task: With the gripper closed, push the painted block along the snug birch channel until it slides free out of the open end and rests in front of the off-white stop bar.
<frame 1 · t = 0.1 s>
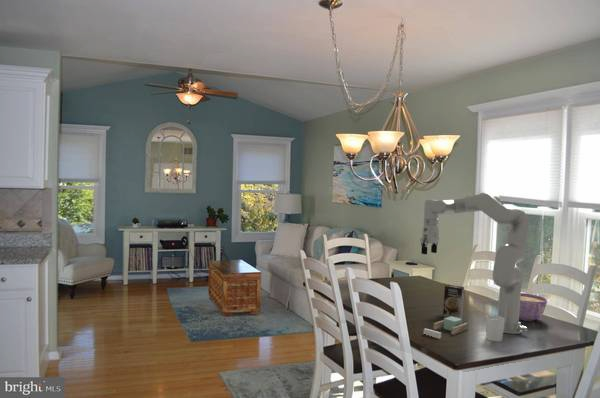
hand: (429, 253, 273), 31 cm above the table, tool pointing down, fingers open, 9 cm apart
block: (452, 329, 241), on the table
coffee box: (452, 317, 263), on the table
white cup: (494, 339, 227), on the table
bowl of food: (525, 319, 265), on the table
stop bar: (432, 336, 228), on the table
channel: (450, 329, 240), on the table
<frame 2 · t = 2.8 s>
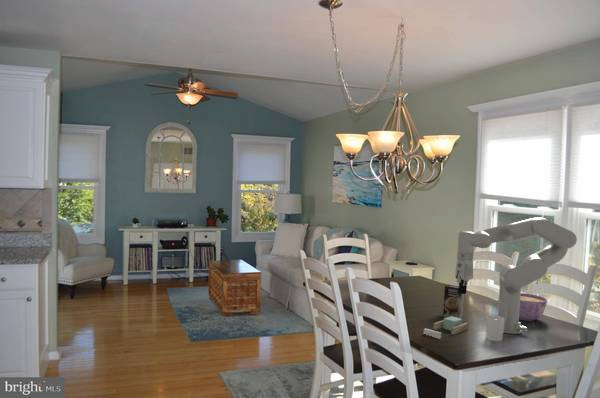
hand: (462, 293, 246), 16 cm above the table, tool pointing down, fingers closed
nothing on the table moved.
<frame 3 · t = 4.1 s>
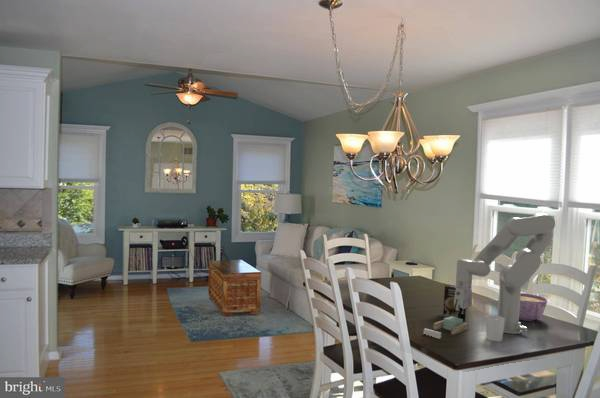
hand: (461, 321, 247), 2 cm above the table, tool pointing down, fingers closed
nothing on the table moved.
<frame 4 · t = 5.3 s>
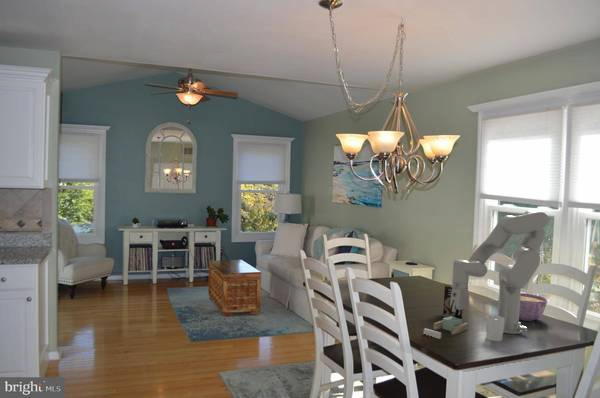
hand: (457, 322, 244), 2 cm above the table, tool pointing down, fingers closed
block: (451, 329, 241), on the table, touching gripper
everything else where it was.
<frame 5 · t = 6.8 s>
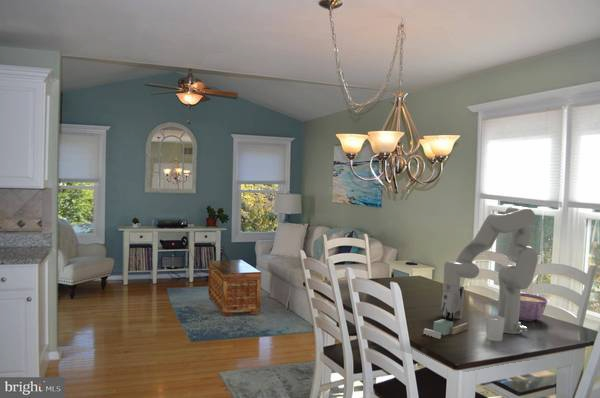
hand: (449, 325, 238), 2 cm above the table, tool pointing down, fingers closed
block: (443, 332, 234), on the table, touching gripper
everything else where it was.
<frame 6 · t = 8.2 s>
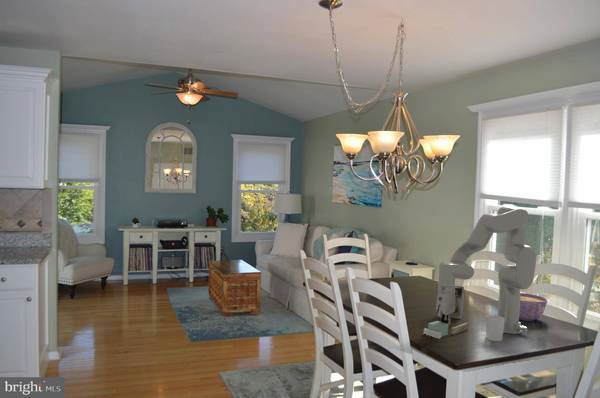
hand: (444, 327, 235), 2 cm above the table, tool pointing down, fingers closed
block: (437, 334, 231), on the table, touching gripper
everything else where it was.
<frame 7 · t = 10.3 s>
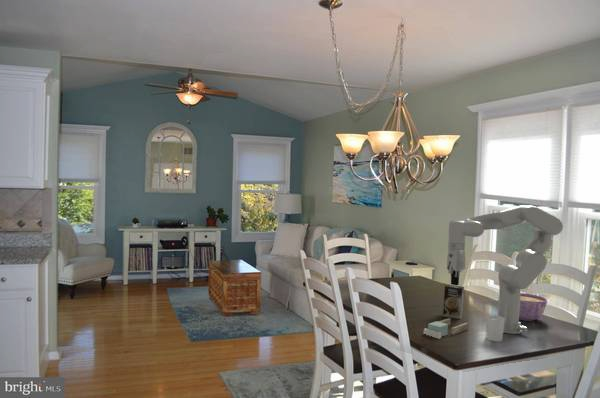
hand: (454, 284, 239), 22 cm above the table, tool pointing down, fingers closed
block: (437, 334, 231), on the table
everything else where it was.
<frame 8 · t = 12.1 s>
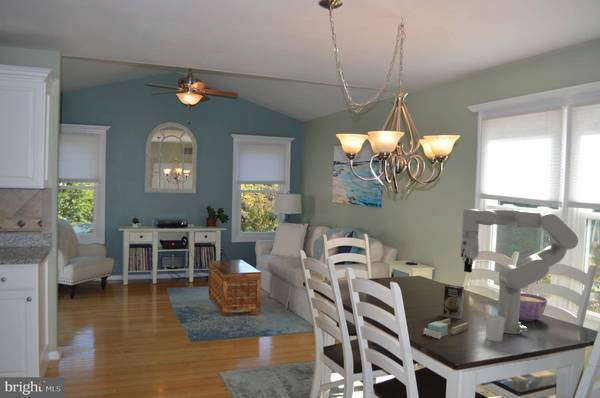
hand: (467, 271, 244), 27 cm above the table, tool pointing down, fingers closed
nothing on the table moved.
at the end: block inside the target area (0.2 cm from its centre), on the table; block tilted 0° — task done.
